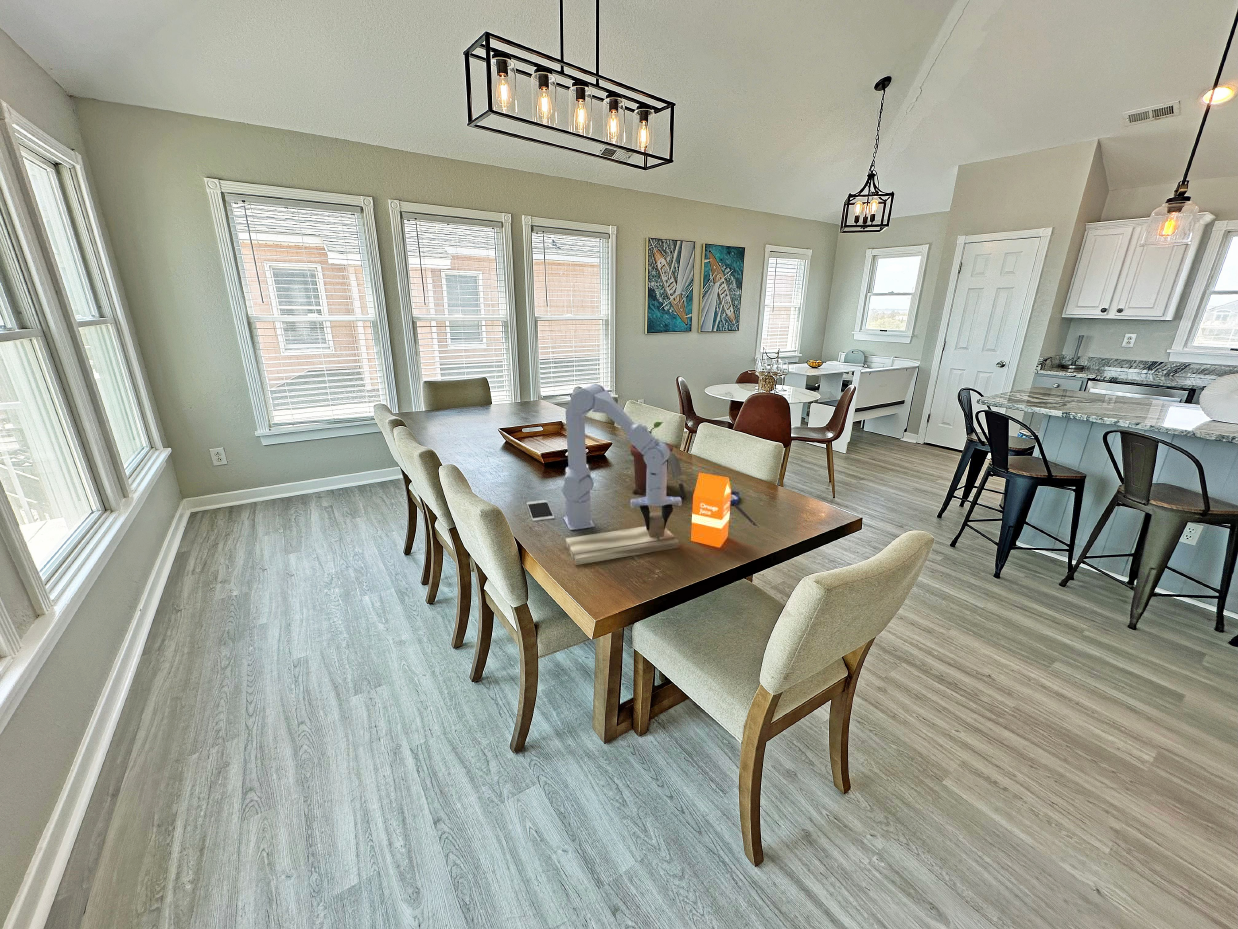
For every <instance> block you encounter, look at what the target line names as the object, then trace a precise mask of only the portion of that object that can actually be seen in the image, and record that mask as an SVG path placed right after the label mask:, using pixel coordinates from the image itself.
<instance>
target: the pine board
mask: <svg viewBox="0 0 1238 929" xmlns="http://www.w3.org/2000/svg"><path fill="white" fill-rule="evenodd" d="M679 541H680V540H678V539H677V538H676V537H675V535H674V534H672V533H671V532H670V531H669V529H668V528H667V527H665V529H664V537H659V539H657V537H650V536H649V533H648V530H647V529H646V525H644V526H638V527H631V528H624V529H618V530H612V531H605V532H600V533H593V534H587V535H578V536H573V537H566V538H565V546H566V548H567V550H568V552H569V554H570V556H571V558H572V561H573V562H574V564H575V565H576V566H578V565H583V564H591V563H595V562H603V561H608V560H613V559H619V558H624V557H631V556H636V555H637V556H639V555H643V554H648V553H655V552H659V551H660V552H661V551H666V550H672V549H678V548H679V544H680V543H679Z"/></svg>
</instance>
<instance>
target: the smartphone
mask: <svg viewBox="0 0 1238 929" xmlns="http://www.w3.org/2000/svg"><path fill="white" fill-rule="evenodd" d="M526 506H527V509H528V512H529V515H530V518H531V520H532V522H533V523H535V522H541V521H542V520H543V521H549V520H550V521H551V520H555V515H554V513H553V511H552V509H551V506H550V504H549V502H548V500H547V499H542V500H534V501H526Z"/></svg>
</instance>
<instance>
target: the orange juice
mask: <svg viewBox="0 0 1238 929" xmlns="http://www.w3.org/2000/svg"><path fill="white" fill-rule="evenodd" d="M729 478H730V477H727V476H721V475H720V476H719V475H715V474H714V475H713V474H709V473H702V472H699V473H698V477H697V481H696V485H695V489H694V492H693V496H692V514H691V515H692V516H691V533H690V534H691V538H690V541H691V542H695V543H700V544H704V545H706V546H707V545H708V546H712V547H715V548H721V547H722V546H723V544H724V542H725V541H726V540H727V538H728V537H729V536H728V534H729V526H730V525H729V521H730V513H731V510H730V508H731V505H730V500H731V490H732V489H731V483H730V479H729Z"/></svg>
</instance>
